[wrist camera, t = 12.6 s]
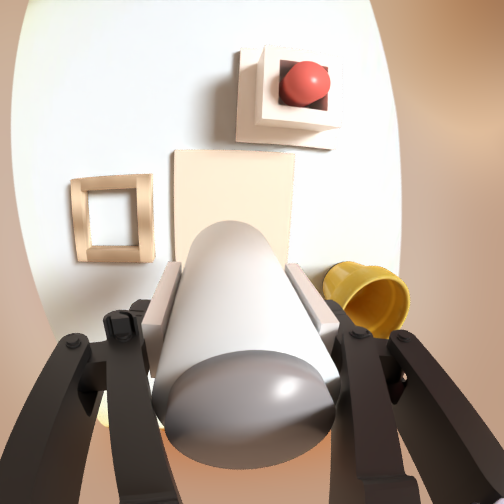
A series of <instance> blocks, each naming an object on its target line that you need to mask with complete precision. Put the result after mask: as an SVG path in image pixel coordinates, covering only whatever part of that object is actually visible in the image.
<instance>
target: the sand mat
mask: <svg viewBox="0 0 504 504" xmlns="http://www.w3.org/2000/svg"><path fill="white" fill-rule="evenodd" d="M294 165H295V154H293V153H280V152H264V151H244V150H175V154H174V230H175V257H176V262H181V265H182V273H183V269H184V266H185V262H186V259H187V256H188V252H189V249H190V246H191V244H192V242H193V240H194V239H195V237H196V236H197V235H198V234H199V233H200V232H201V231H202V230H203V229H205V228H206V227H208V226H210V225H212V224H214V223H217V222H221V221H227V220H234V221H241V222H244V223H247V224H249V225H251V226H253V227H255V228H256V229H257V230H259V231H260V232H261V233H262V234H263V235H264V237H265V238H266V240H267V241H268V243H269V245H270V246H271V248H272V250H273V252H274V254H275V255H276V257H277V259H278V261H279V263H280V264H281V266H282V268H283V270H284V271H285V263H287V259H288V248H289V236H290V224H291V210H292V196H293V181H294Z"/></svg>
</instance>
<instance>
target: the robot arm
mask: <svg viewBox="0 0 504 504" xmlns="http://www.w3.org/2000/svg"><path fill="white" fill-rule="evenodd" d="M284 272H285V273H286V275H287V277H288V279H289V281H290V283H291V284H292V286H293V288H294V290H295V292H296V293H297V295H298V297H299V299H300V301H301V303H302V304H303V306H304V308H305V310H306V312H307V314H308V316H309V317H310V319H311V321H312V323H313V325H314V327H315V329H316V330H317V332H318V334H319V336H320V338H321V340H322V342H323V343H324V345H325V347H326V349H327V351H328V353H329V355H330V357H331V359H332V360H333V362H334V364H335V366H336V368H337V371H338V373H339V376H340V382H341V389H340V395H339V399H338V401H337V404H336V406H335V409H336V416H335V421H334V424H333V426H332V428H331V472H330V494H329V504H421V502H420V495H419V488H418V484H417V480H416V479H415V478H414V477H413V476H408V475H406V474H405V471H404V466H403V460H402V454H401V448H400V443H399V438H398V432H397V429H398V431H399V433H400V435H401V437H402V439H403V441H404V443H405V445H406V447H407V449H408V451H409V453H410V455H411V457H412V460H413V462H414V463H415V466H416V468H417V470H418V472H419V474H420V476H421V478H422V481H423V483H424V485H425V487H426V489H427V491H428V494H429V496H430V498H431V500H432V502H433V504H504V450H503V448H502V447H501V445H500V444H499V442H498V441H497V439H496V438H495V436H494V435H493V434H492V432H491V431H490V430H489V428H488V427H487V425H486V424H485V422H484V421H483V420H482V418H481V417H480V416H479V415H478V413H477V412H476V410H475V409H474V408H473V406H472V405H471V404H470V402H469V401H468V400H467V398H466V397H465V396H464V394H463V393H462V392H461V391H460V389H459V388H458V387H457V386H456V384H455V383H454V382H453V381H452V379H451V378H450V377H449V376H448V374H447V373H446V372H445V371H444V369H443V368H442V367H441V366H440V365H439V363H438V362H437V361H436V360H435V359H434V357H433V356H432V355H431V354H430V353H429V351H428V350H427V349H426V348H425V347H424V346H423V344H422V343H421V342H420V341H419V340H418V339H417V338H416V336H414V335H413V334H412V333H410V332H408V331H406V330H394V331H392V332H391V333H390V336H389V339H382V338H374V337H373V334H372V333H371V332H370V331H369V330H368V329H366V328H364V327H360V326H356V325H355V324H354V323H353V322H352V320H351V319H350V318H349V316H348V315H346V312H345V311H344V310H343V309H342V307H341V306H340V305H339V304H338V303H337V302H335V301H333V300H332V299H330V300H323V298H322V297H321V295H320V294H319V292H318V291H317V290H316V288H315V287H314V285H313V284H312V283H311V281H310V280H309V278H308V277H307V276H306V274H305V273H304V271H303V270H302V269H301V267H300V266H299V265H298V264H294V263H285V271H284ZM181 276H182V265H181V262H168V264H167V266H166V268H165V270H164V272H163V275H162V277H161V279H160V281H159V284H158V286H157V288H156V290H155V293H154V295H153V297H152V300H141V299H139V300H137V301H136V302H134V303H133V304H132V305H131V307H130V309H129V311H128V310H116V311H112V312H110V313H108V314H107V315H106V316H104V318H103V323H104V328H105V332H106V336H107V340H106V341H102V342H94V343H89V340H88V338H87V336H85V335H84V334H80V333H72V334H68V335H66V336H64V337H63V338H62V339H61V340H60V341H59V342H58V344H57V346H56V348H55V349H54V351H53V352H52V354H51V356H50V358H49V359H48V361H47V363H46V364H45V366H44V368H43V370H42V372H41V374H40V375H39V377H38V379H37V381H36V383H35V385H34V386H33V388H32V390H31V392H30V394H29V396H28V398H27V400H26V402H25V404H24V406H23V408H22V410H21V412H20V415H19V417H18V419H17V421H16V423H15V425H14V428H13V430H12V432H11V434H10V437H9V439H8V442H7V444H6V446H5V449H4V452H3V454H2V457H1V459H0V504H78V502H79V496H80V490H81V484H82V478H83V473H84V468H85V463H86V459H87V454H88V450H89V446H90V441H91V437H92V433H93V429H94V425H95V421H96V418H97V414H98V410H99V407H100V403H101V400H102V396H103V393H104V391H105V390H107V403H108V419H109V430H110V440H111V449H112V456H113V464H114V471H115V476H116V482H117V488H118V493H119V498H120V503H119V504H183V503H182V500H181V497H180V495H179V492H178V489H177V486H176V483H175V480H174V477H173V474H172V471H171V468H170V465H169V461H168V458H167V455H166V452H165V448H164V444H163V441H162V437H161V433H160V429H159V425H158V421H157V417H156V413H155V411H154V408H153V404H152V395H151V390H150V386H149V381H148V372H149V370H150V374H151V378H155V377H156V372H157V368H158V364H159V360H160V355H161V351H162V347H163V343H164V339H165V335H166V331H167V327H168V323H169V319H170V316H171V312H172V308H173V304H174V301H175V297H176V294H177V290H178V286H179V283H180V279H181ZM404 373H405V374H406V376H407V380H405V379H404V378H403V375H404Z"/></svg>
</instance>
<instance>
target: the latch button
mask: <svg viewBox="0 0 504 504" xmlns="http://www.w3.org/2000/svg"><path fill="white" fill-rule="evenodd" d="M330 85H331V81H330V77H329V74H328V73H327V71H326V70H325V69H324V68H323V67H322V66H321V65H319V64H317V63H315V62H312V61H302V62H299V63H297V64H295V65H294V66H293V67H292V68H291V70H290V71H289V72H288V73H287V74H286V75H285V77H284V78H283V79H282V80H281V81H280V83H279V96H280V98H281V100H282V101H283V102H284V103H285V104H286V105H288V106H292V107H300V108H303V107H305V106H307V105H309V104H311V103H313V102H315V101H316V100H318V99H320V98H322V97H324V96H325V95H326V94H327V93H328V91H329V89H330Z"/></svg>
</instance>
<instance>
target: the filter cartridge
mask: <svg viewBox="0 0 504 504" xmlns="http://www.w3.org/2000/svg"><path fill="white" fill-rule="evenodd" d="M340 389H341V382H340V376H339V373H338V371H337V368H336V366H335V364H334V362H333V360H332V359H331V357H330V355H329V353H328V351H327V349H326V347H325V345H324V343H323V342H322V340H321V338H320V336H319V334H318V332H317V330H316V329H315V327H314V325H313V323H312V321H311V319H310V317H309V316H308V314H307V312H306V310H305V308H304V306H303V304H302V303H301V301H300V299H299V297H298V295H297V293H296V292H295V290H294V288H293V286H292V284H291V283H290V281H289V279H288V277H287V275H286V273H285V272H284V270H283V268H282V266H281V264H280V263H279V261H278V259H277V257H276V255H275V254H274V252H273V250H272V248H271V246H270V245H269V243H268V241H267V240H266V238H265V237H264V235H263V234H262V233H261V232H260V231H259V230H257V229H256V228H255V227H253V226H251V225H249V224H247V223H244V222H241V221H234V220H227V221H221V222H217V223H214V224H212V225H210V226H208V227H206V228H205V229H203V230H202V231H201V232H200V233H199V234H198V235H197V236H196V237H195V239H194V240H193V242H192V244H191V246H190V249H189V252H188V256H187V259H186V262H185V266H184V269H183V273H182V276H181V279H180V283H179V286H178V290H177V294H176V297H175V301H174V304H173V308H172V312H171V316H170V319H169V323H168V327H167V331H166V335H165V339H164V343H163V347H162V351H161V355H160V360H159V364H158V368H157V372H156V377H155V381H154V386H153V391H152V404H153V408H154V411H155V413H156V416H157V417H158V419H159V421H160V422H161V423H162V425H163V426H164V428H165V433H166V436H167V438H168V440H169V441H170V443H171V444H172V445H173V446H174V447H175V448H176V449H177V450H178V451H179V452H181V453H182V454H183V455H185V456H187V457H189V458H190V459H192V460H195V461H197V462H199V463H202V464H205V465H209V466H213V467H219V468H225V469H256V468H263V467H269V466H273V465H277V464H280V463H284V462H287V461H289V460H291V459H294V458H296V457H298V456H300V455H302V454H304V453H305V452H307V451H309V450H310V449H312V448H313V447H315V446H316V445H317V444H318V443H319V442H320V441H321V440H323V439H324V437H325V436H326V435H327V434H328V432H329V431H330V430H331V428H332V426H333V424H334V421H335V416H336V409H335V406H336V404H337V401H338V399H339V395H340Z"/></svg>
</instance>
